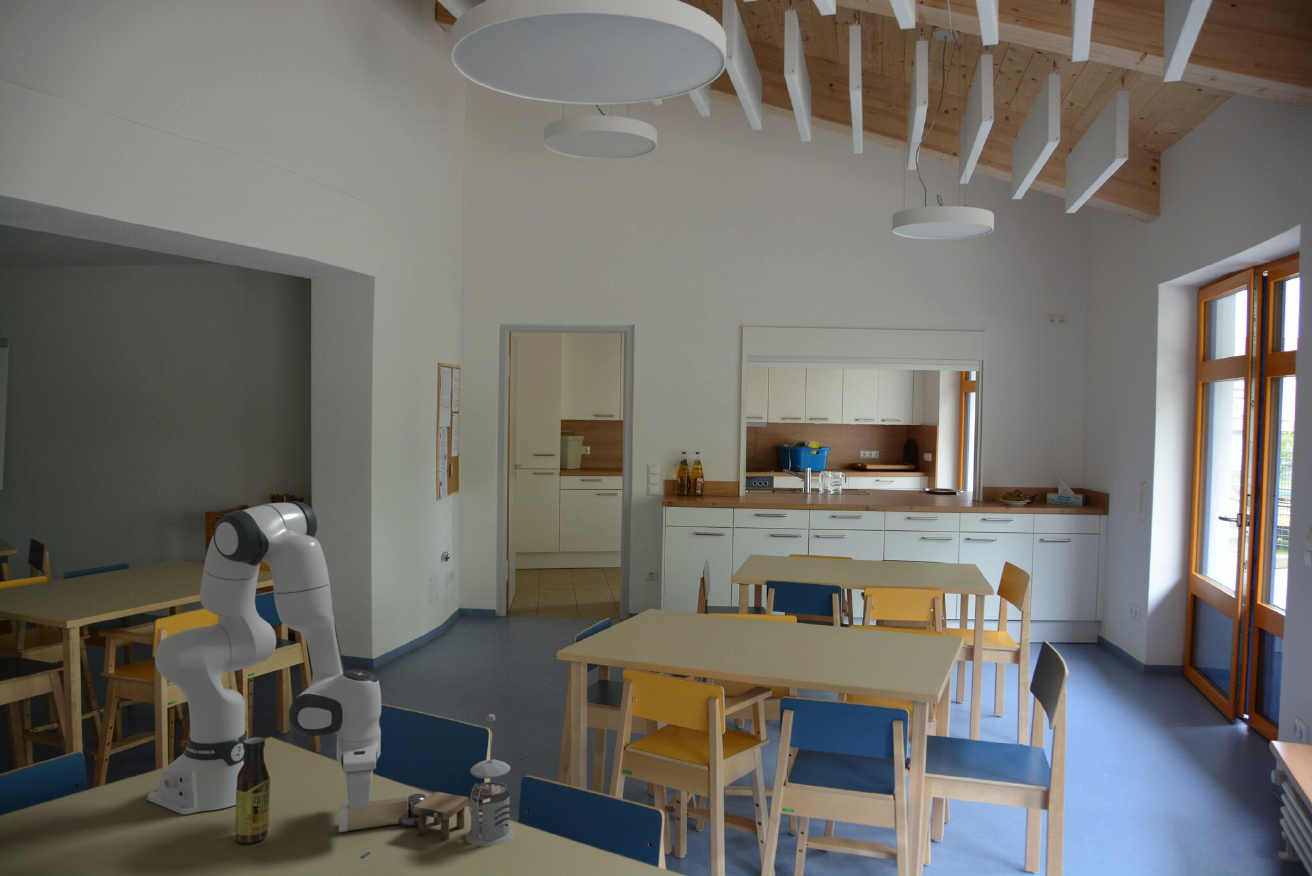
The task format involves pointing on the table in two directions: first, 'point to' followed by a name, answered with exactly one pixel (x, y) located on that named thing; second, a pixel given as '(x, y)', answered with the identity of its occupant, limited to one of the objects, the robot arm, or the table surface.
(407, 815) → the cam lever
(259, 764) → the sauce bottle
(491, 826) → the french press
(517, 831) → the table surface
